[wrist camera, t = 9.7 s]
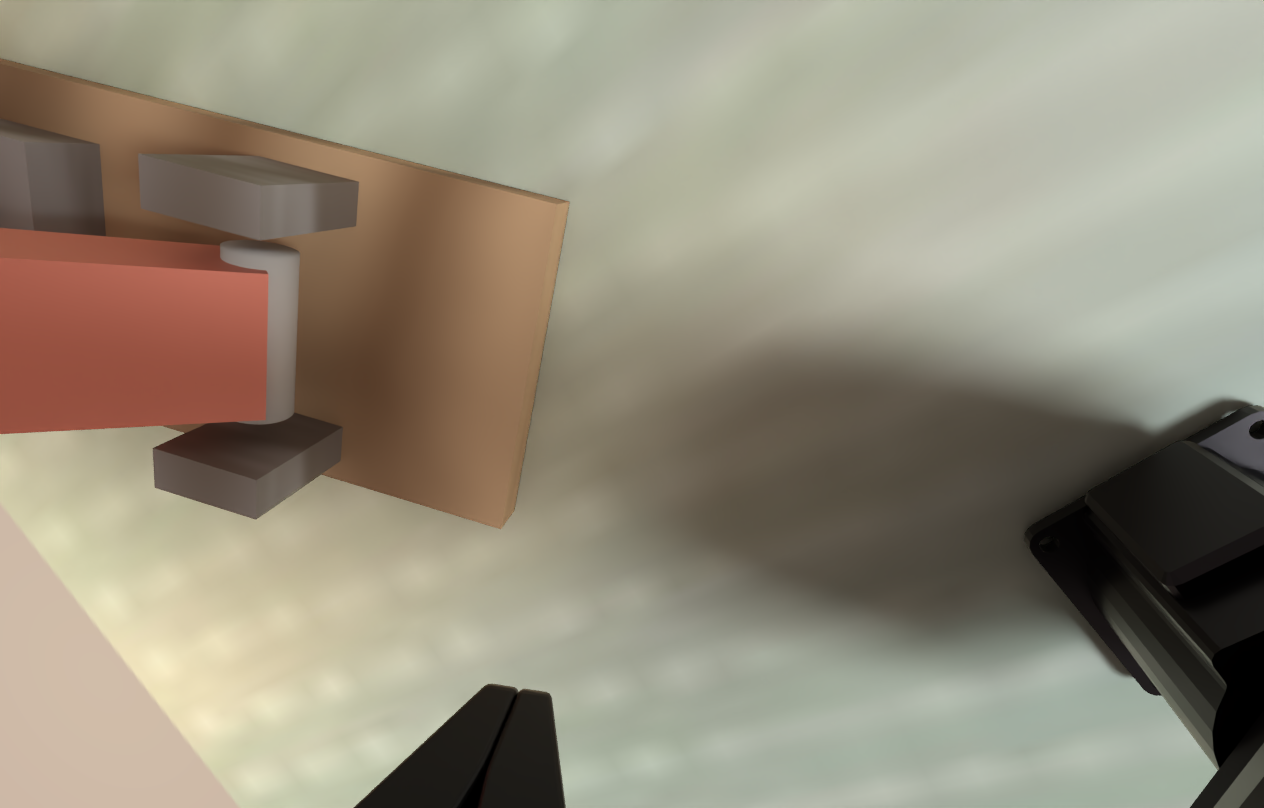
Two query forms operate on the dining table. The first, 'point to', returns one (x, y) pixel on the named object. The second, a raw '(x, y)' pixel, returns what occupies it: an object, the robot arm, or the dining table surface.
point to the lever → (144, 332)
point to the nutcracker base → (316, 288)
